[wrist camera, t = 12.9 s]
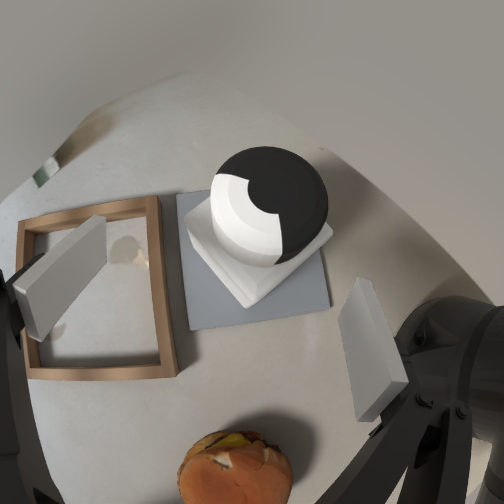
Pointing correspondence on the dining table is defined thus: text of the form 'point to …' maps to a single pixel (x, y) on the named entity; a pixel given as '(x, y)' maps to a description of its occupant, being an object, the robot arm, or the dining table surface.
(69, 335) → the dining table surface
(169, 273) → the dining table surface
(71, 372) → the walnut caddy
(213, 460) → the burger
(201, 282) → the slate mat
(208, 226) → the medicine bottle
